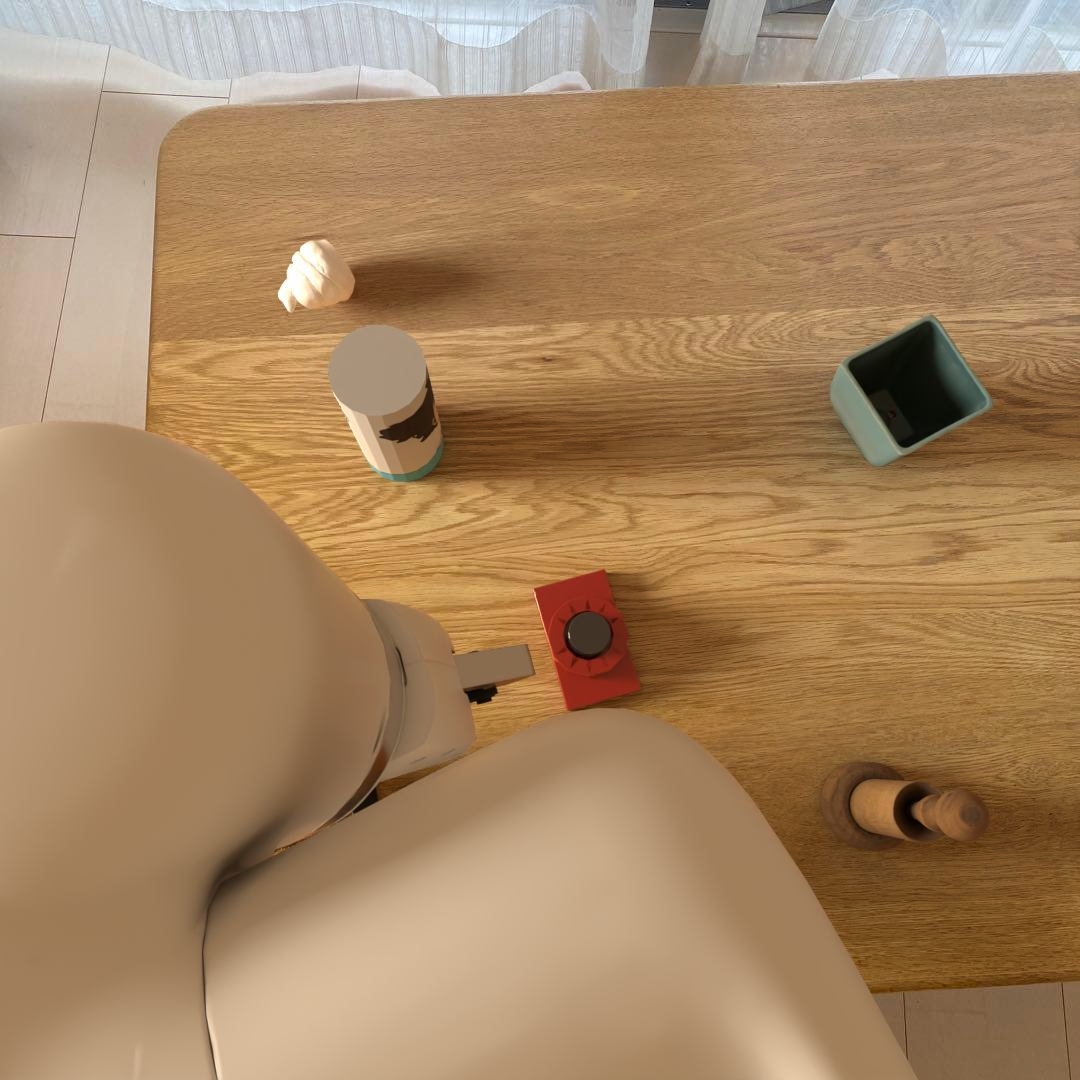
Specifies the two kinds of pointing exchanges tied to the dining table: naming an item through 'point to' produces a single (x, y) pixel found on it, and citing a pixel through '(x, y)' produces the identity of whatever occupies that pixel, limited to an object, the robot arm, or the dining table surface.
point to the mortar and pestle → (897, 809)
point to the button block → (578, 673)
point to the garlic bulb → (316, 277)
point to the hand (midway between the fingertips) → (361, 721)
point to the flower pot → (906, 392)
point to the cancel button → (588, 634)
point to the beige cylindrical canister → (388, 401)
